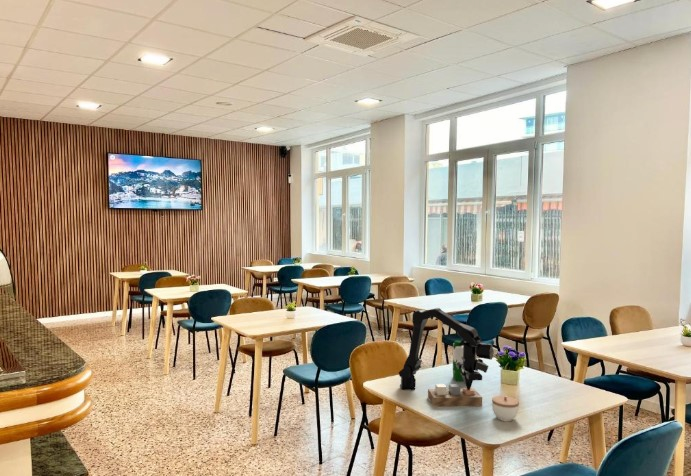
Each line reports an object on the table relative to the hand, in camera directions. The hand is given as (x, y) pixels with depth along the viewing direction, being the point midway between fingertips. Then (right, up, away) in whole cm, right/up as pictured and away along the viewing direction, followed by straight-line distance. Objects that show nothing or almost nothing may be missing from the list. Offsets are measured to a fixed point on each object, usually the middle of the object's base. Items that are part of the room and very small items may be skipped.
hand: (468, 389), depth 222 cm
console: (-7, -6, 0) cm, 9 cm away
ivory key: (-13, -2, -1) cm, 13 cm away
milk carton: (+4, -5, +32) cm, 32 cm away
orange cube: (0, -4, 0) cm, 4 cm away
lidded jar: (+11, -7, -18) cm, 22 cm away
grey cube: (-6, -2, 0) cm, 7 cm away
